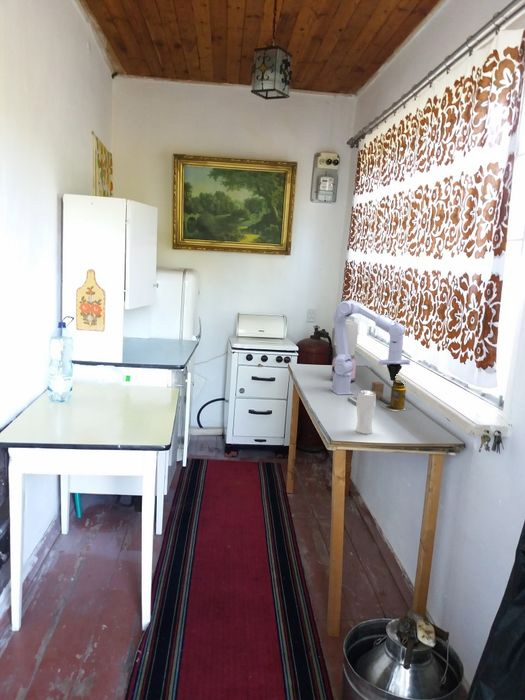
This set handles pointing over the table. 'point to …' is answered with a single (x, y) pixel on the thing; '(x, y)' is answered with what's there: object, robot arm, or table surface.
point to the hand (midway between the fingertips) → (392, 380)
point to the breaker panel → (353, 400)
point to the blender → (352, 341)
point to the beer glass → (365, 411)
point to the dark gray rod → (384, 400)
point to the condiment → (397, 396)
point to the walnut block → (378, 389)
